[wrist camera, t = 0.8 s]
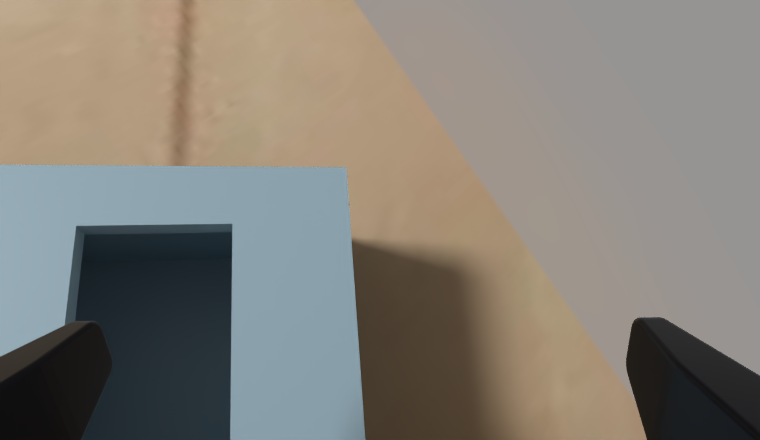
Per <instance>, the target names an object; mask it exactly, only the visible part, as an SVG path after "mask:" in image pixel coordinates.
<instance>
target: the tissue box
mask: <svg viewBox="0 0 760 440" xmlns="http://www.w3.org/2000/svg"><path fill="white" fill-rule="evenodd" d="M74 321H95V322H98V323H99V324H100V325H101V327H102V329H103V332H104V335H105V338H106V340H107V343H108V346H109V349H110V352H111V355H112V358H113V367H112V372H111V374H110V377H109V379H108V381H107V384H106V386H105V388H104V390H103V393H102V395H101V397H100V399H99V402H98V404H97V406H96V409H95V411H94V413H93V415H92V418H91V420H90V422H89V425H88V427H87V429H86V431H85V434H84V436H83V438H82V440H365V428H364V413H363V399H362V385H361V370H360V356H359V342H358V327H357V313H356V299H355V284H354V270H353V256H352V242H351V227H350V213H349V199H348V184H347V170H346V167H236V166H102V165H0V356H2V355H4V354H6V353H9V352H11V351H13V350H15V349H17V348H19V347H21V346H23V345H25V344H27V343H29V342H31V341H33V340H35V339H37V338H39V337H41V336H44V335H46V334H48V333H50V332H52V331H54V330H56V329H58V328H60V327H62V326H64V325H66V324H68V323H70V322H74Z"/></svg>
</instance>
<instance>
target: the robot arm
mask: <svg viewBox="0 0 760 440" xmlns="http://www.w3.org/2000/svg"><path fill="white" fill-rule="evenodd" d="M112 367H113V358H112V355H111V352H110V349H109V346H108V343H107V340H106V338H105V335H104V332H103V329H102V327H101V325H100V324H99V323H98V322H95V321H74V322H70V323H68V324H66V325H64V326H62V327H60V328H58V329H56V330H54V331H52V332H50V333H48V334H46V335H44V336H41V337H39V338H37V339H35V340H33V341H31V342H29V343H27V344H25V345H23V346H21V347H19V348H17V349H15V350H13V351H11V352H9V353H6V354H4V355H2V356H0V440H82V438H83V436H84V434H85V431H86V429H87V427H88V425H89V422H90V420H91V418H92V415H93V413H94V411H95V409H96V406H97V404H98V402H99V399H100V397H101V395H102V393H103V390H104V388H105V386H106V384H107V381H108V379H109V377H110V374H111V372H112ZM626 367H627V373H628V377H629V380H630V384H631V387H632V391H633V394H634V397H635V401H636V404H637V407H638V411H639V414H640V417H641V421H642V424H643V427H644V431H645V434H646V438H647V440H760V376H759V375H758V374H756V373H755V372H753V371H751V370H749V369H748V368H746V367H744V366H743V365H741V364H739V363H738V362H736V361H734V360H733V359H731V358H729V357H728V356H726V355H724V354H723V353H721V352H719V351H717V350H716V349H714V348H713V347H711V346H709V345H708V344H706V343H704V342H703V341H701V340H699V339H697V338H696V337H694V336H693V335H691V334H689V333H688V332H686V331H684V330H683V329H681V328H679V327H678V326H676V325H674V324H673V323H671V322H669V321H668V320H665V319H664V318H660V317H653V318H637V319H635V320H634V322H633V324H632V327H631V333H630V339H629V345H628V351H627V358H626Z"/></svg>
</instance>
